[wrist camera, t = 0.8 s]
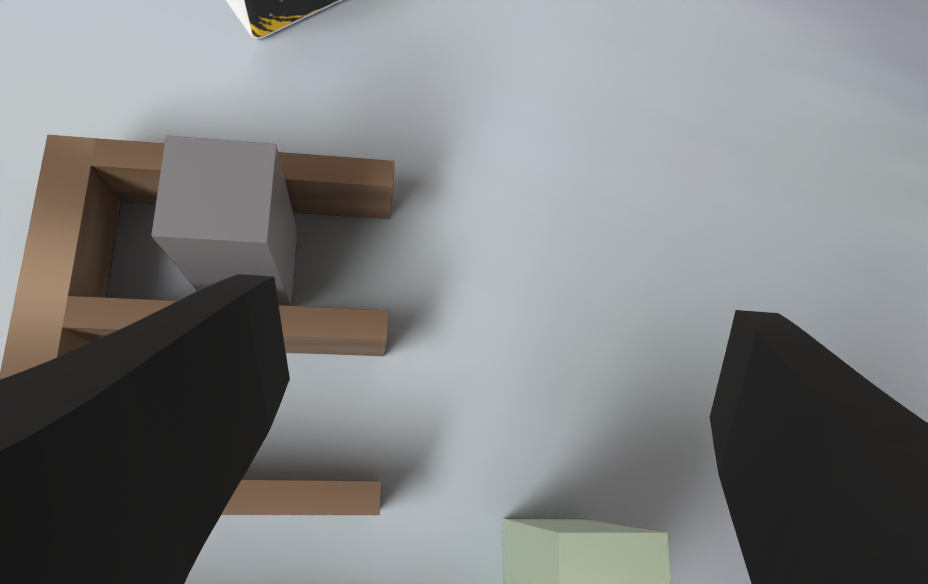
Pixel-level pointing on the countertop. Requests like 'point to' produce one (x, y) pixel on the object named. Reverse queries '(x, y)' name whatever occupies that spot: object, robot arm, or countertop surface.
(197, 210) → the gray block
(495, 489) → the countertop surface
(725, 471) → the robot arm
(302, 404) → the countertop surface
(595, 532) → the sage block
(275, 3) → the medicine bottle
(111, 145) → the comb rack
